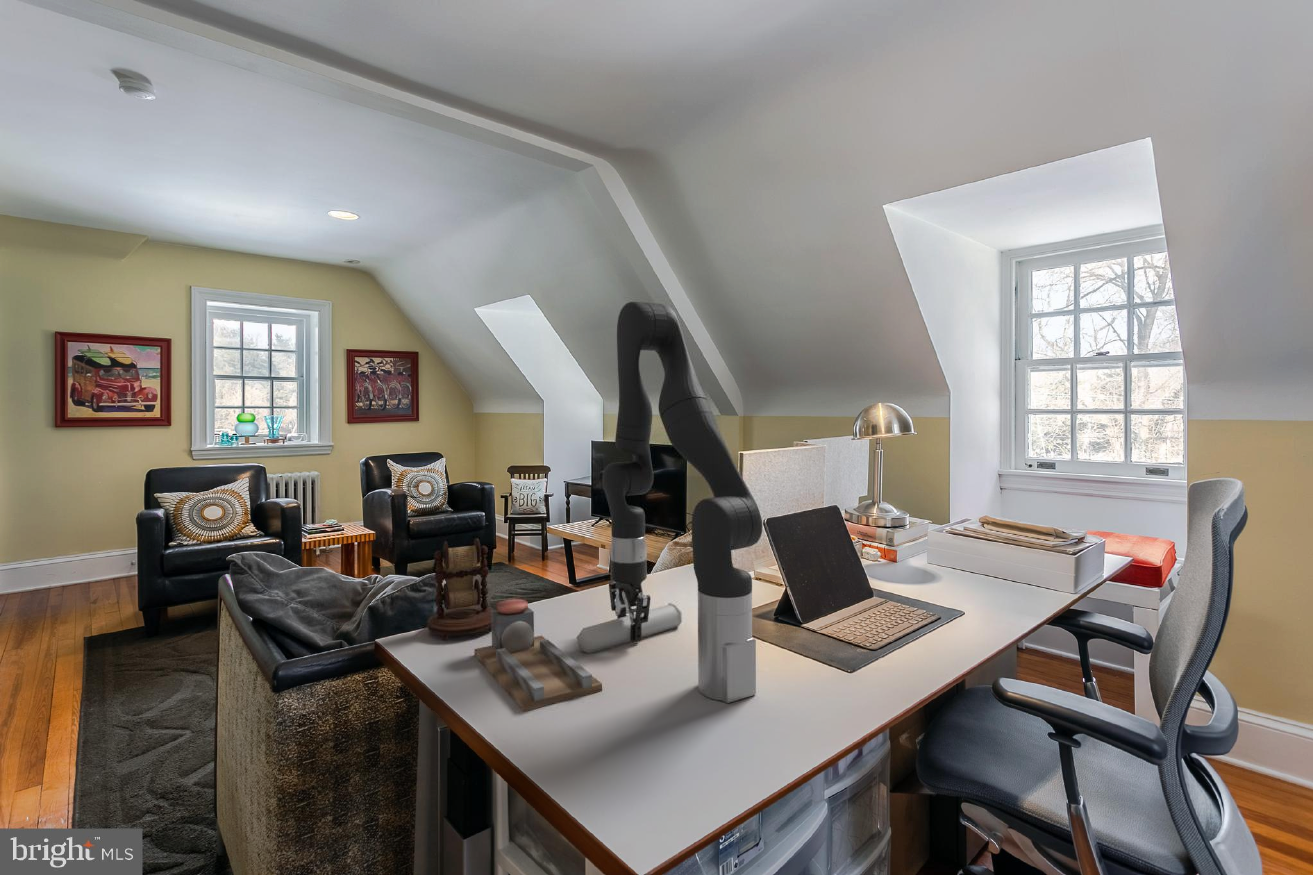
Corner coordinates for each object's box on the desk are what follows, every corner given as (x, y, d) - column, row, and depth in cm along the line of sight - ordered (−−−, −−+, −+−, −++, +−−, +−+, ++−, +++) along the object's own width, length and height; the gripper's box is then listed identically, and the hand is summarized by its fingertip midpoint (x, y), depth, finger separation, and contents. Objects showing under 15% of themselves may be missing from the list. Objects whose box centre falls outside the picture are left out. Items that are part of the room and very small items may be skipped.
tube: (588, 639, 124) (684, 611, 140) (574, 624, 128) (669, 598, 144) (584, 662, 125) (679, 632, 141) (570, 646, 129) (664, 618, 145)
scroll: (488, 615, 151) (486, 531, 150) (505, 634, 138) (503, 542, 137) (422, 625, 144) (420, 537, 143) (433, 646, 131) (431, 549, 130)
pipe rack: (602, 690, 110) (601, 634, 109) (523, 711, 103) (522, 651, 102) (540, 640, 134) (540, 594, 134) (473, 654, 127) (472, 605, 126)
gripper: (662, 561, 130) (662, 644, 130) (627, 548, 142) (628, 624, 143) (629, 566, 126) (630, 651, 126) (596, 552, 138) (597, 630, 139)
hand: (629, 636), depth 135 cm, fingers closed on tube, 5 cm apart
